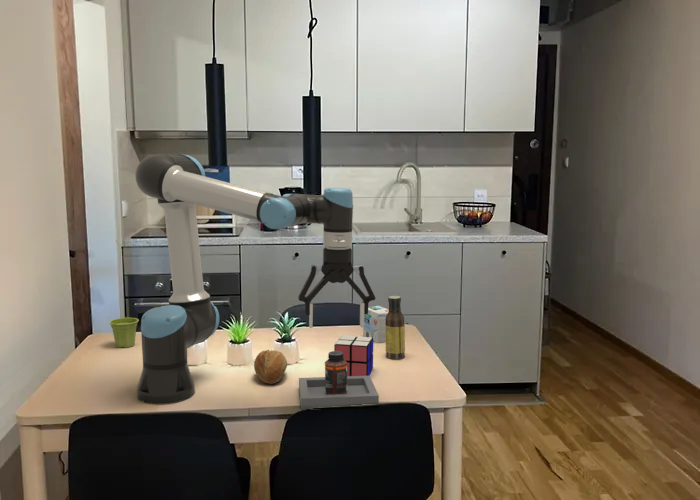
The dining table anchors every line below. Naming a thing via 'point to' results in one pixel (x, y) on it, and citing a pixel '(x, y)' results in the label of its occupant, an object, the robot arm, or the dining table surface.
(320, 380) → the tray
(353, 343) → the puzzle cube
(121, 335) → the plant pot
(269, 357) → the bread roll
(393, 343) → the sauce bottle
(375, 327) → the light bulb box
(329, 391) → the supplement bottle
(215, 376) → the dining table surface
